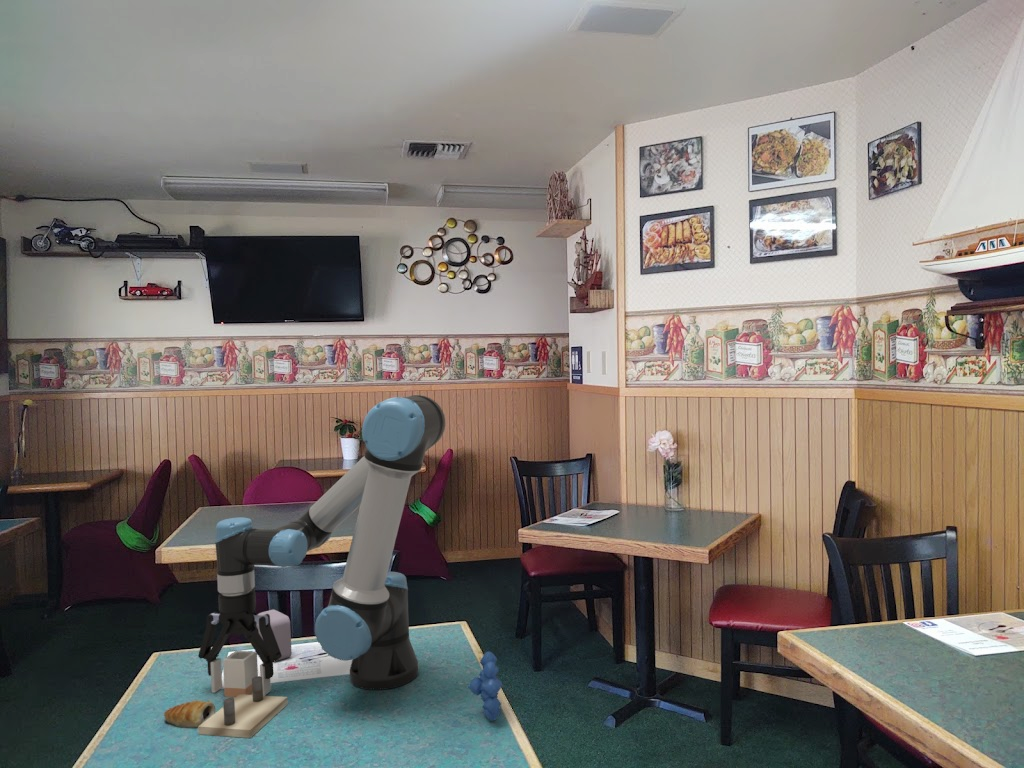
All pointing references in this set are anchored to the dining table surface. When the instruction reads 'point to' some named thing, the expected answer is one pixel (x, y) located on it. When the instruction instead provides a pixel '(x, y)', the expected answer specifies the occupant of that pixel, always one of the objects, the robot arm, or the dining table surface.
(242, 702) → the pin board
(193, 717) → the pastry
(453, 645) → the dining table surface
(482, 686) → the grapes
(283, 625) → the electronic device
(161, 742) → the dining table surface
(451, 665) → the dining table surface
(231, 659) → the sleeve
